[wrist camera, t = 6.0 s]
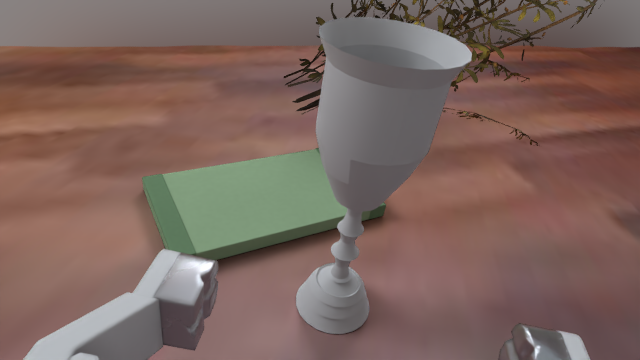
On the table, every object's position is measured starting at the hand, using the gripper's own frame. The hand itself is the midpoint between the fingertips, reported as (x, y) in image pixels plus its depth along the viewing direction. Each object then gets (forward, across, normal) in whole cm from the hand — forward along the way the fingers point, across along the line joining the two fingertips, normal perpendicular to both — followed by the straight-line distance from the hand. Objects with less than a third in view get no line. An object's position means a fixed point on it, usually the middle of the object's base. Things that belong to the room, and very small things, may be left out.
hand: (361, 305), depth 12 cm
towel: (+21, +7, +14) cm, 27 cm away
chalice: (+12, 0, +14) cm, 19 cm away
